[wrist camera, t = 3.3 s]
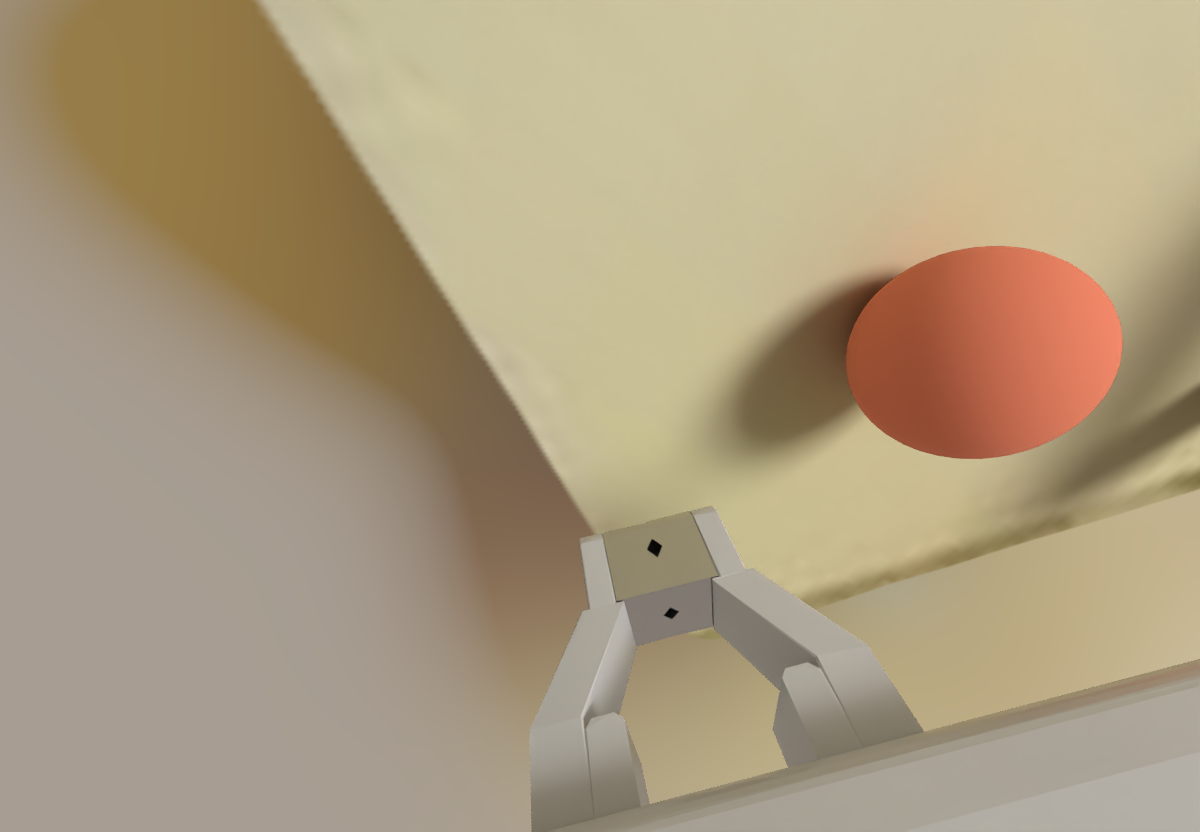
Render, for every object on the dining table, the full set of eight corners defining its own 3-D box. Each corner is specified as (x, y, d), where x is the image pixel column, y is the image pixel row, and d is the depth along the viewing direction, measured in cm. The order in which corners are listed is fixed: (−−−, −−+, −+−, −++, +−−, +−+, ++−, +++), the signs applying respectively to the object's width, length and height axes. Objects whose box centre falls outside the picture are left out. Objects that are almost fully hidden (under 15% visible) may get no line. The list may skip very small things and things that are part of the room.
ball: (822, 245, 12) (994, 333, 8) (1011, 201, 12) (1282, 265, 8) (799, 401, 16) (910, 524, 11) (947, 366, 16) (1114, 474, 11)
